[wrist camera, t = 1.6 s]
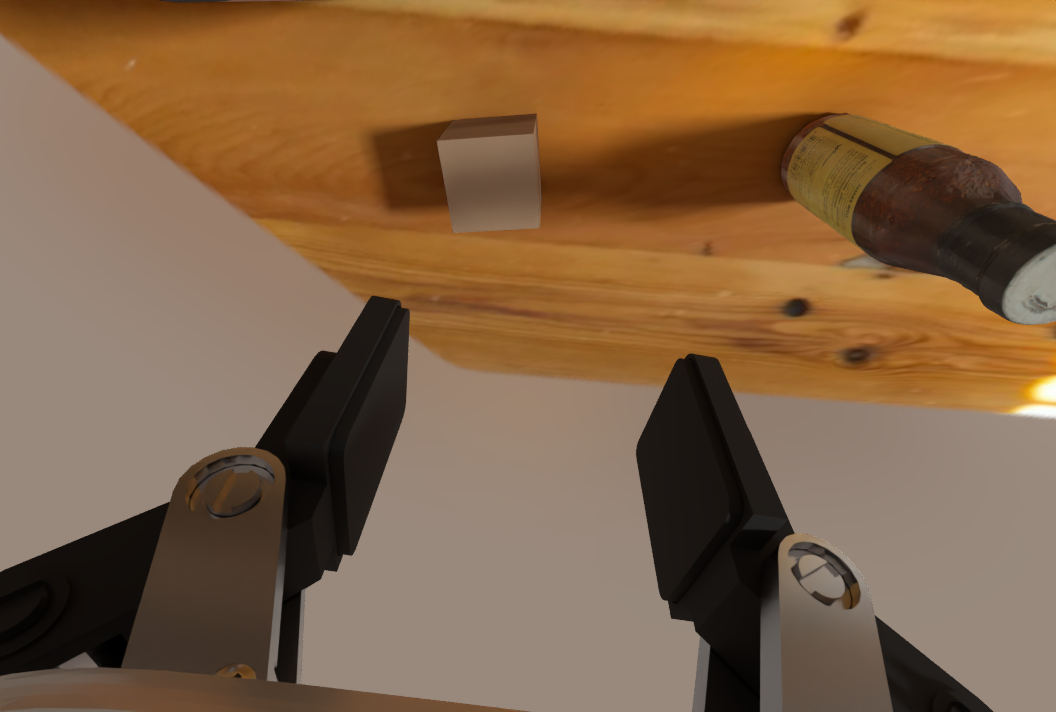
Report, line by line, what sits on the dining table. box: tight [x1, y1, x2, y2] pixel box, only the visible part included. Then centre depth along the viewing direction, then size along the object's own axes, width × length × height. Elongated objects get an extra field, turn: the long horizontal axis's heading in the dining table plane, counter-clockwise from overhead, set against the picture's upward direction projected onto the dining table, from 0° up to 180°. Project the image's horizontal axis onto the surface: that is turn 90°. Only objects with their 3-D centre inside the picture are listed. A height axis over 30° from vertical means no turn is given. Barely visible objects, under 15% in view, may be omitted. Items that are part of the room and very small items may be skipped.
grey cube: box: [437, 114, 542, 233], centre depth 34 cm, size 6×6×6 cm
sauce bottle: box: [781, 113, 1056, 325], centre depth 27 cm, size 7×6×20 cm
